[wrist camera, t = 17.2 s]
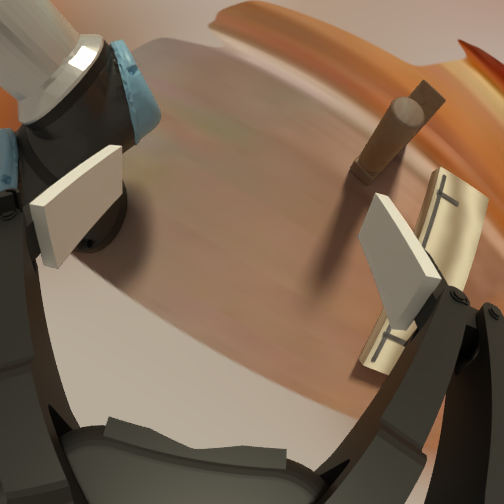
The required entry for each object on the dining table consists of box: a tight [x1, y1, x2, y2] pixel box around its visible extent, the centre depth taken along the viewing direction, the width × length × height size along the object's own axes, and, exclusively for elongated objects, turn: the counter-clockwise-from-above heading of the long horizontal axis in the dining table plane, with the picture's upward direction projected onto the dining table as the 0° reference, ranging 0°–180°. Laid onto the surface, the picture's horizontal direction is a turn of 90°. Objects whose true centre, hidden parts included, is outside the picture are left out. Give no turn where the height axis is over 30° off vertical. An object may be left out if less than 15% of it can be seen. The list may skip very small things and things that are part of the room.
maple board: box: [358, 167, 489, 375], centre depth 37 cm, size 10×30×3 cm, turn 155°
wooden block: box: [350, 80, 446, 185], centre depth 31 cm, size 4×11×18 cm, turn 134°
